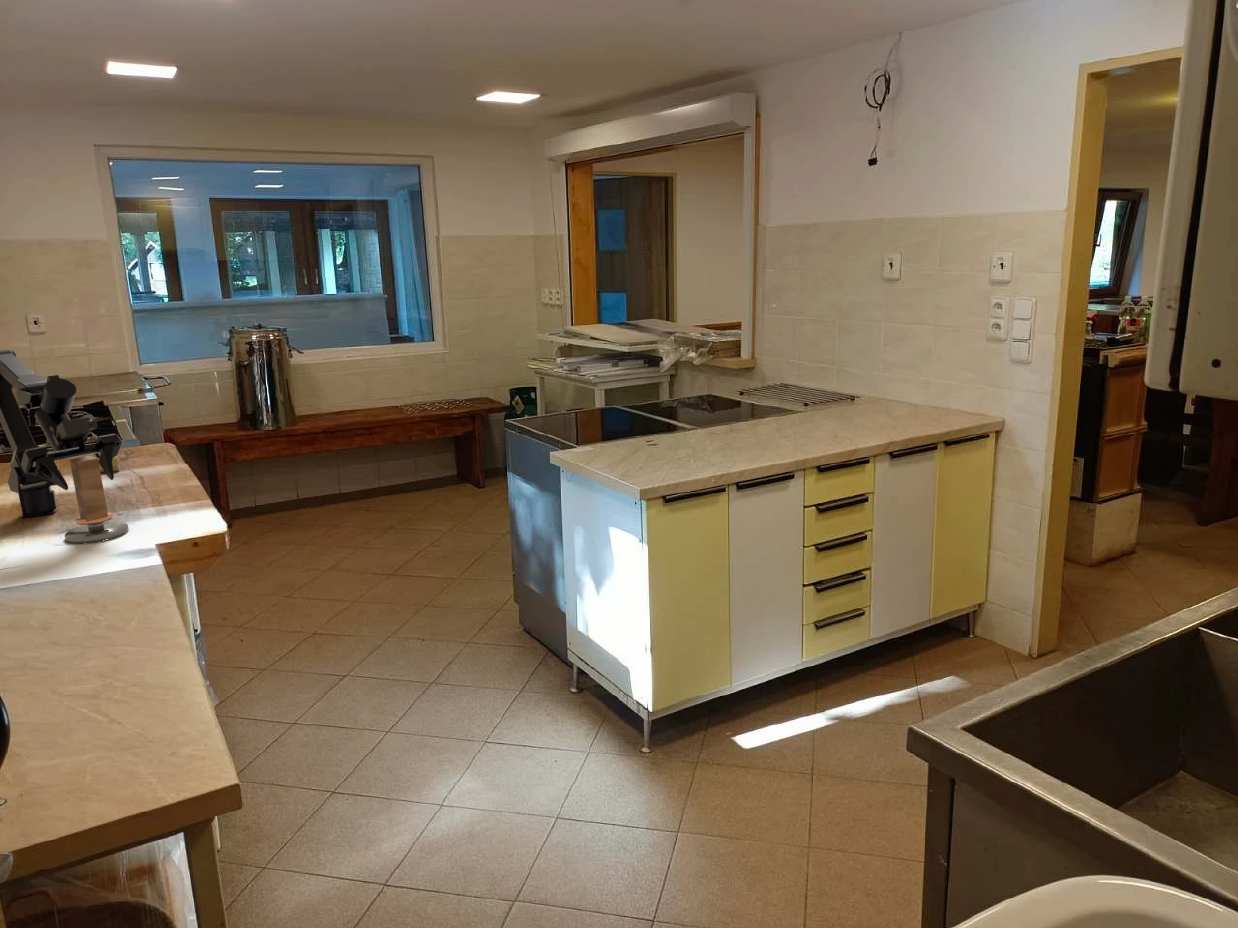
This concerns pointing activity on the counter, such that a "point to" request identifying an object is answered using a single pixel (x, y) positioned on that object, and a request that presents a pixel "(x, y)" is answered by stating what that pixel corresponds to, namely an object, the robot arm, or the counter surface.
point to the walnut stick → (89, 488)
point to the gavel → (115, 464)
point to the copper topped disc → (96, 530)
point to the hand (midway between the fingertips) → (90, 483)
